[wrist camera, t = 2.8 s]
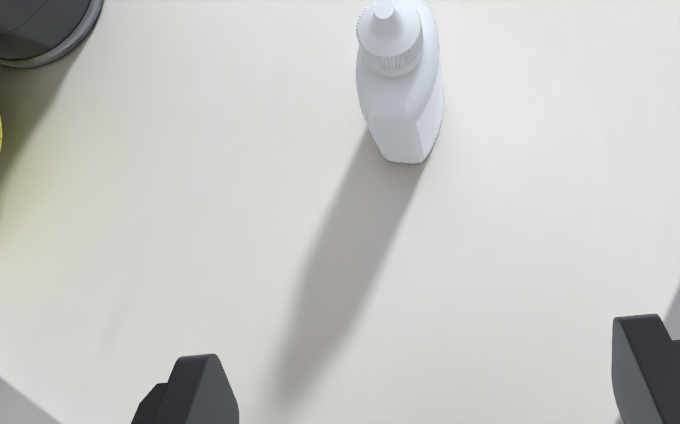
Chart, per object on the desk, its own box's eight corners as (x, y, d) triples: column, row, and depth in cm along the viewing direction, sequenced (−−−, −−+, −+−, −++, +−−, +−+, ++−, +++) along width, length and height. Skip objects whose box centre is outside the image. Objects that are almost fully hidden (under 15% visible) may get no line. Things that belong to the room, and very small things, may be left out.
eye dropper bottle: (476, 93, 33) (484, -25, 22) (412, 179, 33) (385, 108, 22) (408, 49, 34) (382, -85, 23) (346, 133, 34) (287, 41, 23)
